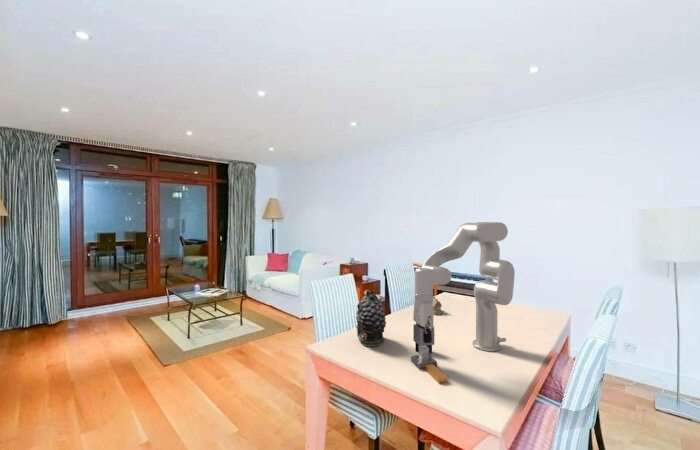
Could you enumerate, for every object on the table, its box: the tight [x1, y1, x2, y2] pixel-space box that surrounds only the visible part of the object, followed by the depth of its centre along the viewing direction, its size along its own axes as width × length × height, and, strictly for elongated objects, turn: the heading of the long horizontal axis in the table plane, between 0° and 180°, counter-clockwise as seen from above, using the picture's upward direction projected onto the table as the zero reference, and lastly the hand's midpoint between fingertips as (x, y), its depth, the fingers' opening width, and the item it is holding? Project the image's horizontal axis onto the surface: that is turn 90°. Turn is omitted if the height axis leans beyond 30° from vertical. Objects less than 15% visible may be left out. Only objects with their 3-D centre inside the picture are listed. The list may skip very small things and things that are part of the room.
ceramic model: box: [432, 296, 444, 316], centre depth 212 cm, size 14×11×10 cm
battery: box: [414, 341, 433, 355], centre depth 149 cm, size 4×7×10 cm, turn 59°
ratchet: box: [410, 346, 449, 385], centre depth 130 cm, size 20×8×8 cm, turn 14°
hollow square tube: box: [413, 323, 435, 346], centre depth 136 cm, size 6×6×7 cm
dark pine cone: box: [355, 289, 387, 347], centre depth 163 cm, size 21×15×25 cm
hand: (423, 339), depth 136 cm, fingers closed on hollow square tube, 6 cm apart
